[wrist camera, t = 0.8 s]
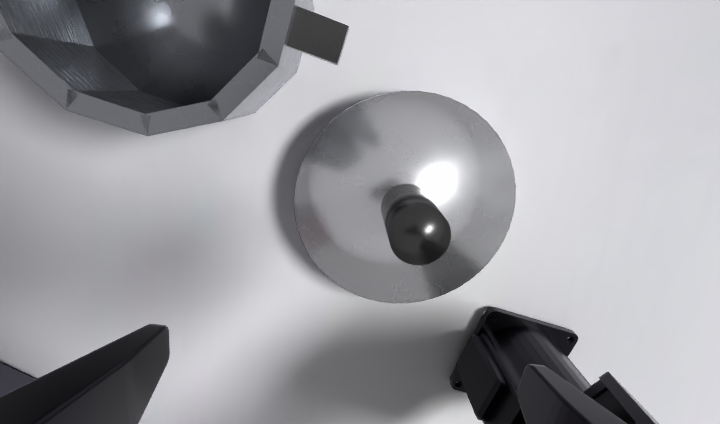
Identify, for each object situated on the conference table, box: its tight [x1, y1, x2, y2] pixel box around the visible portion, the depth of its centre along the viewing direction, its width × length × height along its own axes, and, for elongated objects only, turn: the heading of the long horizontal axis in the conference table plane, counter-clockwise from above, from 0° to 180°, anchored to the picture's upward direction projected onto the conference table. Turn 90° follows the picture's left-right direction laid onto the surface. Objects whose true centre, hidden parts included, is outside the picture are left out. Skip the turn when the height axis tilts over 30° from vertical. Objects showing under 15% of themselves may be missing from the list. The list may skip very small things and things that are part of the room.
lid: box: [294, 91, 516, 303], centre depth 18 cm, size 12×12×6 cm
